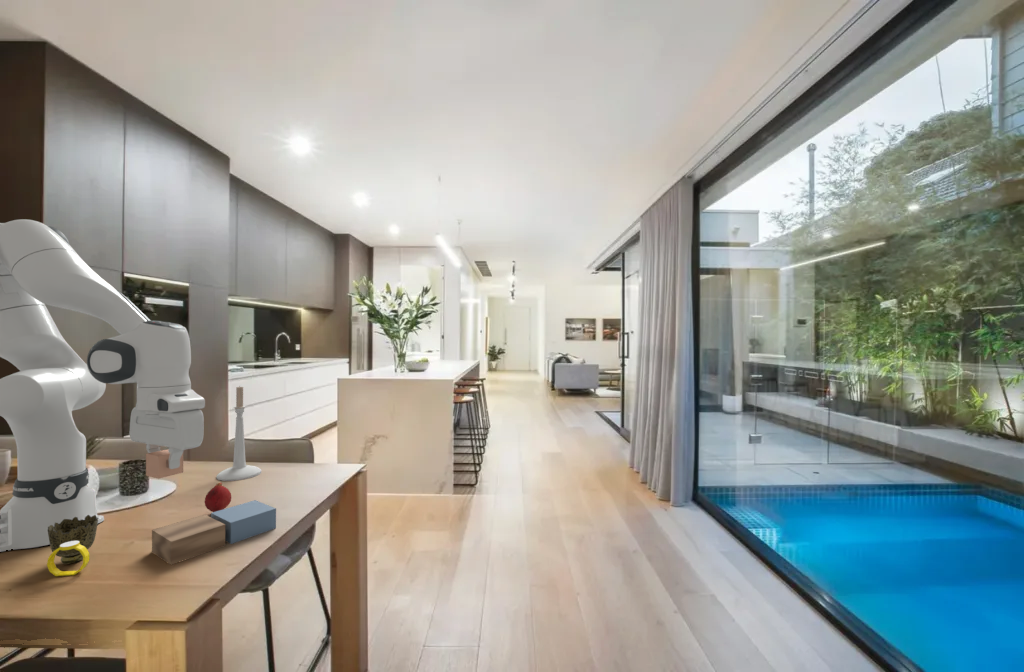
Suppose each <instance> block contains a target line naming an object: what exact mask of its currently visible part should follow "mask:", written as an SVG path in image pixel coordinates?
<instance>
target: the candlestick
mask: <svg viewBox="0 0 1024 672" xmlns="http://www.w3.org/2000/svg"><path fill="white" fill-rule="evenodd" d="M235 393H236V395H235V396H236V397H235V398H236V399H235V406H233V409H234V413H236V418H235V429H234V430H235V432H234V434H235V435H234V445H233V446H234V449H233V461H232V466H231V467H228V468H226V469H223V470H222V471H220V472H219V473H218V474H217V475H216V480H218V481H223V482H224V481H225V482H228V481H229V482H231V481H241V480H247V479H251V478H254V477H257V476H258V475H261V474H262V469H261V468H260V467H258V466H255V465H249V464H247V463H246V448H245V431H244V430H245V428H244V416H243V414H244V413H245V408H247V407H246V405H244V387H243V386H241V385H239V386H237V387H236V390H235Z"/></svg>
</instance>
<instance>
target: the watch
mask: <svg viewBox="0 0 1024 672" xmlns="http://www.w3.org/2000/svg"><path fill="white" fill-rule="evenodd" d="M70 549H76V550H78V551H80V553H81V554H82V556H83V559H82V564H81V565H80V568H79V569H77V570H66V571H64V570H60V568H58V567H57V566H56V564H55V559H56V557H55V556H56V554H57V552H58V551H59V550H70ZM89 562H90V552H89V549H88V550H87V548H86V547H85V546H83V545H81V544H80V542H79V541H69V542H65V543H63V544H61V545H60V547H59V548H58V549H56V550H55V551H53V552H52V551H51V554H50V555H49V556H48V558H47V562H46V566H47V569H48V571H49V573H50V574H52V575H53V576H55V577H65V576H75V575H77V574H78V573H79V572H81V571H82V570H84V569H85V568H86V567H87V565H88V564H89Z"/></svg>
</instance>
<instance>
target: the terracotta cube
mask: <svg viewBox="0 0 1024 672" xmlns="http://www.w3.org/2000/svg"><path fill="white" fill-rule="evenodd" d="M169 456H170V452H169V451H168V448H167V449H163V450H161V451H157V452H152V453H148V452H147V453H146V454H145V476H146V477H150V478H154V479H158V480H159V479H163V478H166V477H171V476H175V475H178V474H182V473H184V453H183V454H182V456H181V458H180V466H179V467H178V468H175V469H169V468H167V467H166V465H167V464H166V460H168V459H169Z"/></svg>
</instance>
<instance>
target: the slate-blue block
mask: <svg viewBox="0 0 1024 672" xmlns="http://www.w3.org/2000/svg"><path fill="white" fill-rule="evenodd" d="M210 517H211V518H213V519H215V520H217V521H219V522H221V523H223V524H225V543H228V544H230V545H231V544H232V545H233V544H235V543H239V542H240V541H241V542H242V541H243V540H246V539H249V538H251V537H255V536H257V535H260V534H263V533H266V532H269V531H272V530H274V529H276V528H277V508H275V507H273V506H271V505H270V504H269V505H268V504H266V503H264V502H261V501H259V500H257V499H254V500H250V501H247V502H243V503H241V504H237V505H234V506H230V507H226V508H225V509H223V510H219V511H216V512H212V511H211V513H210Z"/></svg>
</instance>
